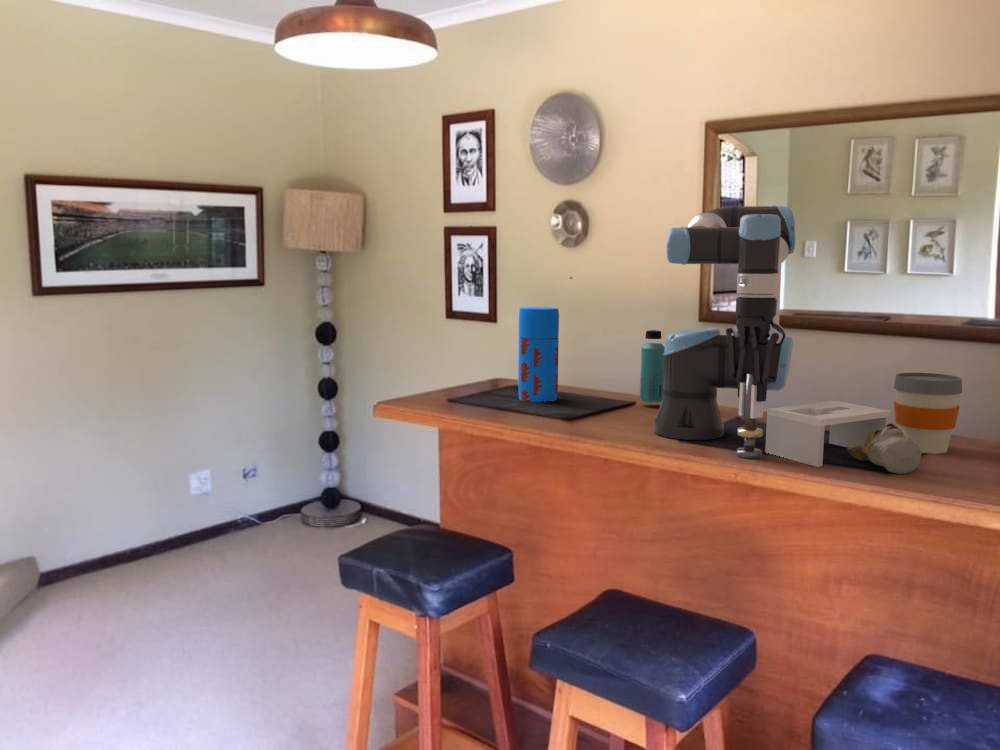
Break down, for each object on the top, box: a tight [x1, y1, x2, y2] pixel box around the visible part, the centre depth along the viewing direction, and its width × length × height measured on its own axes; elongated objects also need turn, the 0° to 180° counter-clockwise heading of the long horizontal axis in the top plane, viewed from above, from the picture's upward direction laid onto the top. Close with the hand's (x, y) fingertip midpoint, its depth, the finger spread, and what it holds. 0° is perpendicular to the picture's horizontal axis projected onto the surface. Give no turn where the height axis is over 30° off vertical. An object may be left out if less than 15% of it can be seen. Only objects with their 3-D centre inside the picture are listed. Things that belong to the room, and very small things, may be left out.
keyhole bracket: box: [764, 400, 891, 468], centre depth 166 cm, size 20×13×9 cm, turn 119°
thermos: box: [517, 306, 560, 403], centre depth 228 cm, size 11×11×25 cm
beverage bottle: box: [639, 329, 665, 404], centre depth 218 cm, size 6×7×20 cm
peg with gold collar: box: [735, 373, 764, 460], centre depth 163 cm, size 5×5×16 cm
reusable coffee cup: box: [893, 372, 963, 454], centre depth 171 cm, size 13×13×15 cm
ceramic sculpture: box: [844, 423, 922, 475], centre depth 156 cm, size 11×9×15 cm
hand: (750, 416), depth 163 cm, fingers closed on peg with gold collar, 2 cm apart
